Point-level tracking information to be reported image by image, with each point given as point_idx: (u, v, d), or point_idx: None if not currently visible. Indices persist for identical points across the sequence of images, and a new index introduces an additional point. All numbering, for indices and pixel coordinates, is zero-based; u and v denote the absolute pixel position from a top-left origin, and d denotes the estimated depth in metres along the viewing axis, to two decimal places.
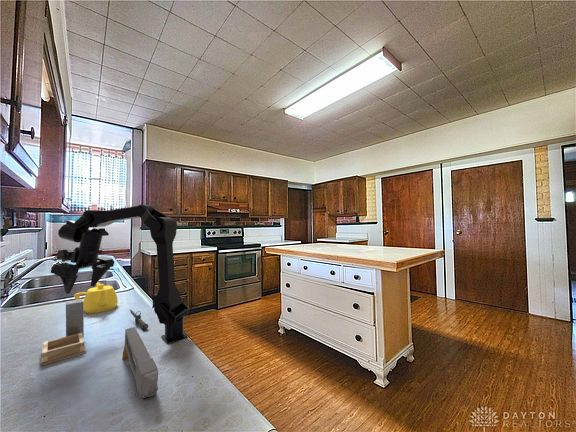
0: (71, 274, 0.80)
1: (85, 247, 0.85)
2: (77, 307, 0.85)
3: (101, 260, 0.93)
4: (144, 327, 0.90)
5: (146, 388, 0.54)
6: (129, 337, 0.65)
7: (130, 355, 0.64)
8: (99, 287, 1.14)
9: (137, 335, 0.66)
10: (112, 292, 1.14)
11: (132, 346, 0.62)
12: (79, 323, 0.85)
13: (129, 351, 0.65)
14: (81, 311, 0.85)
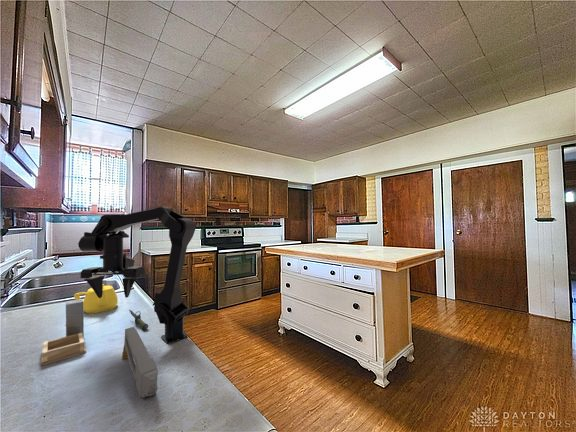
0: (83, 276, 0.83)
1: None
2: (77, 306, 0.85)
3: None
4: (144, 327, 0.90)
5: (146, 388, 0.54)
6: (129, 337, 0.65)
7: (130, 355, 0.64)
8: None
9: (136, 334, 0.66)
10: (112, 292, 1.14)
11: (132, 346, 0.62)
12: (79, 323, 0.85)
13: (129, 351, 0.65)
14: (81, 311, 0.85)
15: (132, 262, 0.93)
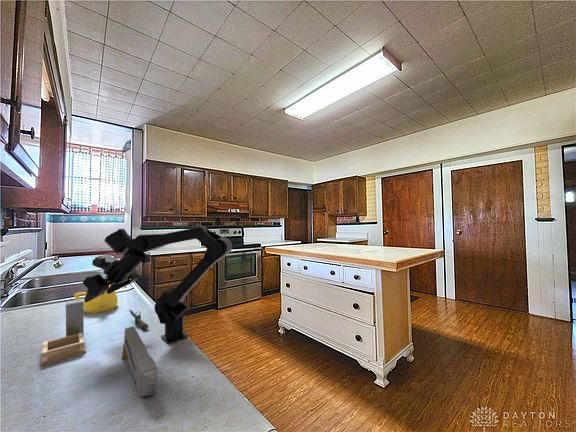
0: (100, 293, 0.77)
1: (124, 267, 0.82)
2: (77, 307, 0.85)
3: None
4: (144, 327, 0.90)
5: (146, 387, 0.54)
6: (128, 336, 0.65)
7: (129, 354, 0.64)
8: None
9: (136, 334, 0.66)
10: (112, 292, 1.14)
11: (131, 345, 0.62)
12: (79, 323, 0.85)
13: (128, 350, 0.65)
14: (81, 311, 0.85)
15: None
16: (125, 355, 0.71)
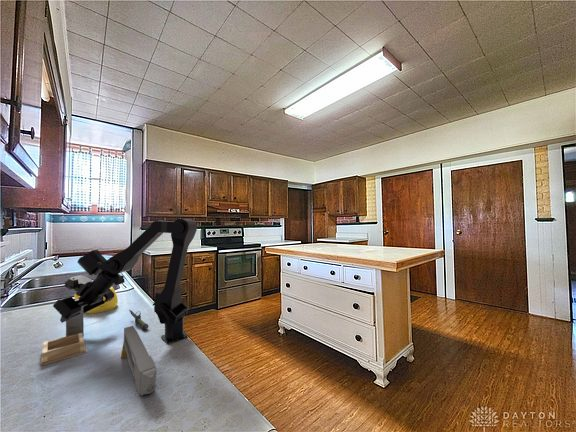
0: (71, 316, 0.78)
1: (97, 288, 0.83)
2: None
3: (103, 293, 0.91)
4: (144, 327, 0.90)
5: (145, 386, 0.54)
6: (128, 335, 0.65)
7: (129, 353, 0.64)
8: None
9: (135, 333, 0.67)
10: None
11: (131, 344, 0.63)
12: (78, 323, 0.85)
13: (128, 349, 0.65)
14: (81, 311, 0.85)
15: None
16: (124, 354, 0.72)
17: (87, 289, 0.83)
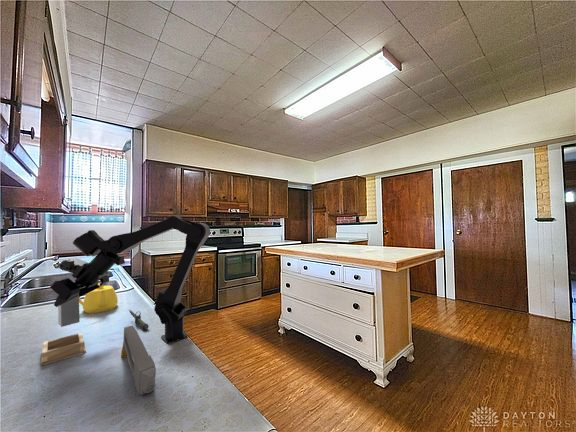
0: (71, 297, 0.74)
1: (96, 269, 0.79)
2: None
3: None
4: (144, 327, 0.89)
5: (144, 385, 0.55)
6: (128, 335, 0.66)
7: (129, 353, 0.65)
8: None
9: (135, 333, 0.67)
10: (112, 292, 1.14)
11: (130, 344, 0.63)
12: (74, 307, 0.80)
13: (128, 349, 0.66)
14: None
15: None
16: (124, 354, 0.72)
17: (85, 270, 0.79)
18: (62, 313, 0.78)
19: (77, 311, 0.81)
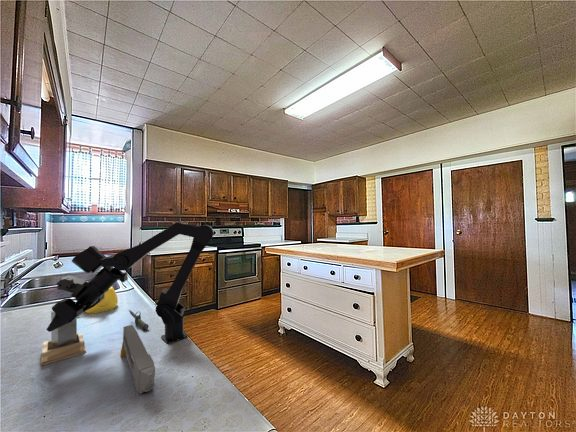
0: (75, 318, 0.70)
1: (99, 287, 0.76)
2: None
3: None
4: (144, 327, 0.89)
5: (144, 384, 0.55)
6: (127, 334, 0.66)
7: (128, 352, 0.65)
8: None
9: (134, 332, 0.67)
10: (112, 292, 1.14)
11: (130, 343, 0.63)
12: (71, 333, 0.75)
13: (127, 348, 0.66)
14: None
15: None
16: (124, 353, 0.72)
17: (86, 289, 0.75)
18: (59, 341, 0.73)
19: (74, 337, 0.76)
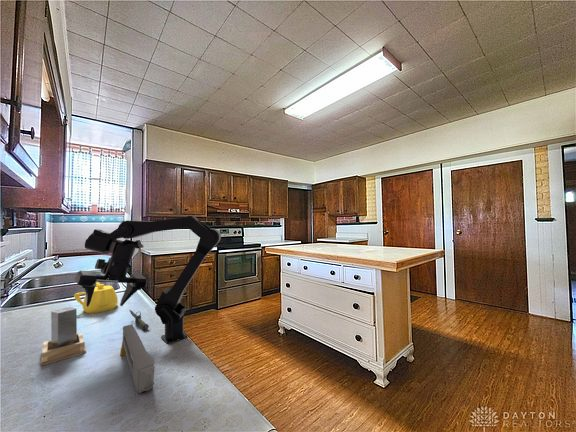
0: (86, 283, 0.73)
1: (112, 258, 0.79)
2: (70, 315, 0.75)
3: (133, 277, 0.85)
4: (144, 327, 0.89)
5: (143, 383, 0.55)
6: (127, 334, 0.66)
7: (128, 351, 0.65)
8: (99, 287, 1.14)
9: (134, 331, 0.68)
10: (112, 292, 1.14)
11: (129, 342, 0.64)
12: (71, 333, 0.75)
13: (127, 347, 0.66)
14: (74, 319, 0.76)
15: None
16: (124, 352, 0.73)
17: None
18: (59, 341, 0.73)
19: (74, 337, 0.76)
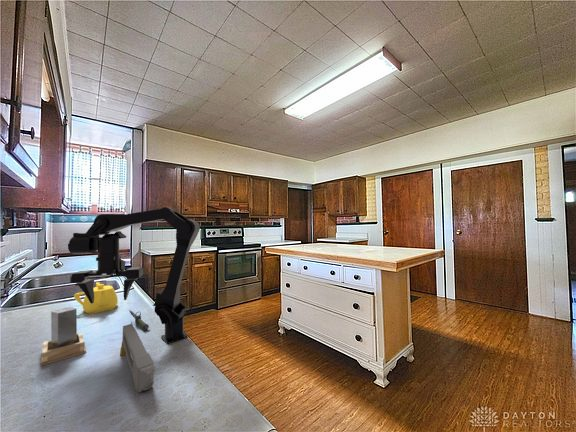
0: (75, 281, 0.77)
1: None
2: (70, 315, 0.75)
3: None
4: (145, 327, 0.89)
5: (143, 382, 0.56)
6: (126, 333, 0.67)
7: (127, 351, 0.66)
8: (99, 287, 1.14)
9: (134, 331, 0.68)
10: (112, 292, 1.14)
11: (129, 342, 0.64)
12: (71, 333, 0.75)
13: (126, 347, 0.67)
14: (74, 319, 0.76)
15: (124, 264, 0.89)
16: (123, 352, 0.73)
17: None
18: (59, 341, 0.73)
19: (74, 337, 0.76)
